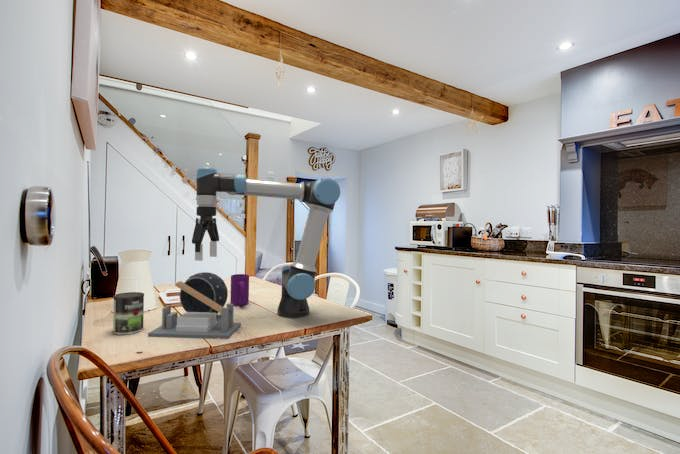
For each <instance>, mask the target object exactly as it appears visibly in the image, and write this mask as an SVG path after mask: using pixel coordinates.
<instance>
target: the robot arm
mask: <svg viewBox="0 0 680 454" xmlns="http://www.w3.org/2000/svg"><path fill="white" fill-rule="evenodd" d="M217 171H218V170H217V169H216V168H215V167H214V168H213V167H208V166H207V167H205V166H203V167H202V166H201V167H198V168H197V170H196V180H195V181H196V198H195V200H196V206H197V207H196V216H198V217H196V219H195V226H194V229H193V233H192V238H191V243H192V244H194V261H197V262H198V261H200V262H201V261H203V259H204V257H203V254H204V253H203V249H204V248H203V247H204V246H203V243H202V242H203V240H204V237H205V234H206V232H207V234H208V237H209V238H210V241H209V257H211V258H212V257H213V258H214V257H215V258H216V257H217V254H218V252H217V248H218V247H217V245H218V242H219V241H220V236H219V235H220V234H219V230H218V225H217V218H216V216H217V207H216V206H217V193H227V194H228V195H232V196H236V195H238V196H248V197H249V196H252V197H264V198H275V199H289V200H298V201H300V202H301V203H307V206H308V209H309V211H308V215H307V219H306V221H305V226H304V228H303V233H302V237H301V240H300V245H299V248H298V251H297V255H296V260H295V261H294V262H293V263H291V264H290V265H283V266H282V268H281V298H280V300H279V303H278V307H277V313H276V314H277V315H278V316H280V317H283V318H292V319H293V318H302V317H306V316H308V315H309V314H310V306H309V302H308V298H310V297H312V295H313V294H314V292H315V289H316V281H315V279H316V274H317V271H318V270H317V269H316V267H315V266H316V262H317V258H318V255H319V250H320V247H321V244H322V243H321V242H322V239H323V237H324V236H323V235H324V232H325V228H326V225H327V221H328V217H329V214H331V213H333V212H334V209H335V205H336V202H337V201H338V200H339V198H340V196H341V187H340V185H339V184H338V182H337V181H336V180H335V179H333V178H331V177H320V178H318V179H317V180H313V181H301V182H300V183H296V182H288V181H287V182H286V181H285V182H284V181H278V180H277V181H274V180H265V179H256V178H255V179H254V178H253V179H252V178H247V175H245V174H239V173H237V174H236V173H235V174H233V173H218V172H217Z"/></svg>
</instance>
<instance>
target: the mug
mask: <svg viewBox="0 0 680 454" xmlns="http://www.w3.org/2000/svg"><path fill="white" fill-rule="evenodd" d="M249 293H250V275H249V274H245V273H244V274H242V273H238V274H237V273H236V274H232V275H230V303H229V304H234V307H242V306H244V307H245V306H247V305H248V304H249V299H250V294H249Z"/></svg>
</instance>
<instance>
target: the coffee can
mask: <svg viewBox="0 0 680 454" xmlns="http://www.w3.org/2000/svg"><path fill="white" fill-rule="evenodd" d="M144 299H145V293H144V292H139V291H138V292H136V291H130V292H120V293H117V294H114V295H113V317H112V318H113V321H112V322H113V327H112V328H113V329H112V333H113V334H114V335H119V336H120V335H123V336H124V335H132V334H136V333H140V332H142V331H143V330H144V305H145V302H144V301H145V300H144Z"/></svg>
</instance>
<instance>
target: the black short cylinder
mask: <svg viewBox="0 0 680 454" xmlns="http://www.w3.org/2000/svg"><path fill="white" fill-rule="evenodd" d="M184 283H185V284H186V285H188V286H190V287H191V288H193V289H194V290H196V291H198V292H199V293H201V294H203V295H204V296H206V297H208V298H209V299H211V300H212V301H214V302H216V303H217V304H219V305H221V306H222V307H224V308H225V305H226V303H227V300H228V293H229V292H228V291H229V290H228V287H227V285H226V283H225V280H224V279H223V278H222V277H220V276H219V275H218V274H215V273H212V272H207V271H206V272H205V271H203V272H198V273H195V274H193V275H190V276H189V277H188V278H187V279H186V280H185V282H184ZM179 292H180V293H179V302H180V305H181V307H182V308H183V310H184V312H185V313H186V312H208V313H216V314H218V313H219V312H218V311H216V310H214V309H213V308H211V307H210V306H208V305H206V304H205V303H203V302H201V301H200V300H198V299H196V298H195V297H193V296H192V295H190V294H188V293H187V292H185V291H183V290H182V289H180V290H179Z"/></svg>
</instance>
